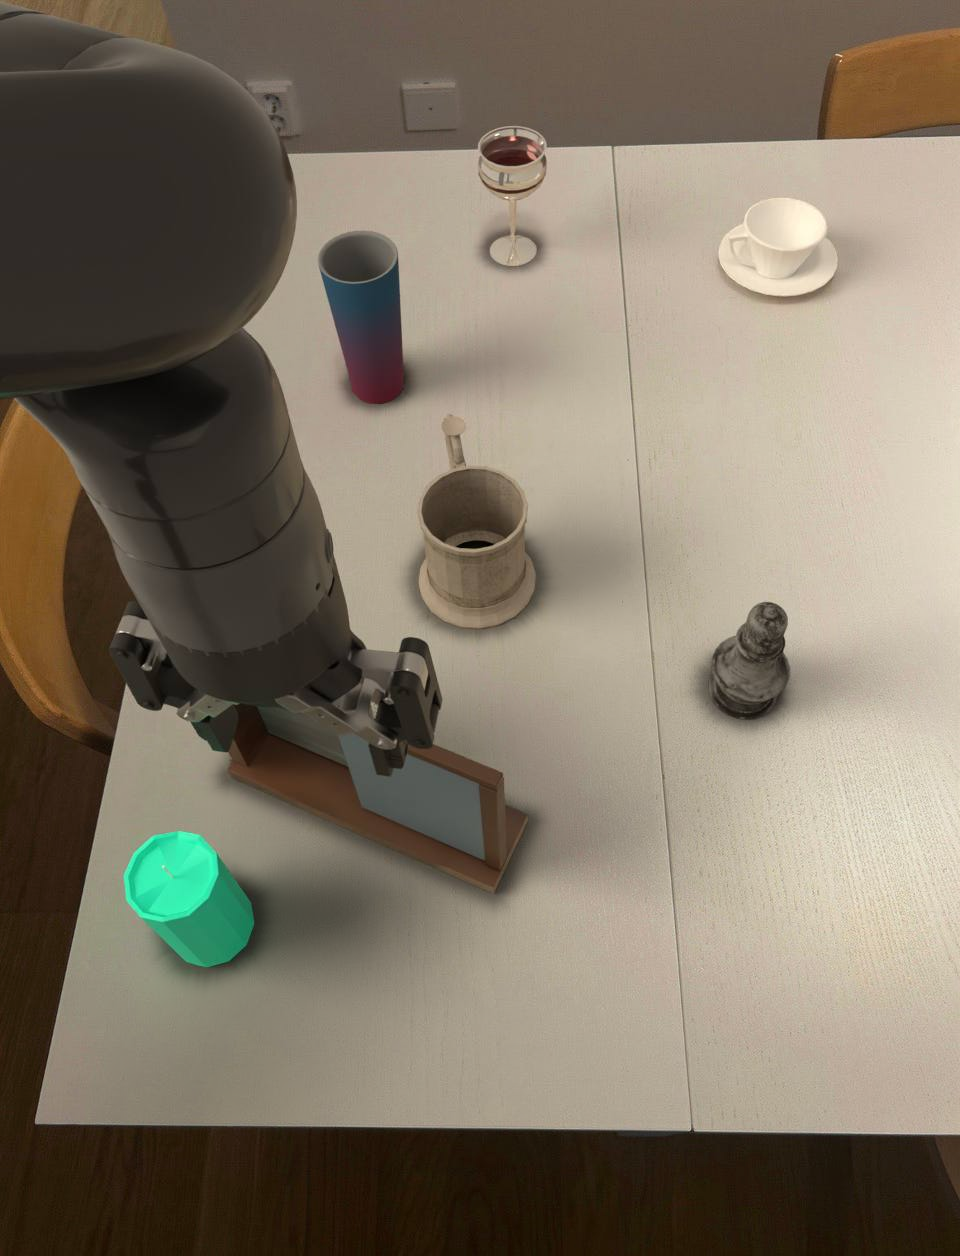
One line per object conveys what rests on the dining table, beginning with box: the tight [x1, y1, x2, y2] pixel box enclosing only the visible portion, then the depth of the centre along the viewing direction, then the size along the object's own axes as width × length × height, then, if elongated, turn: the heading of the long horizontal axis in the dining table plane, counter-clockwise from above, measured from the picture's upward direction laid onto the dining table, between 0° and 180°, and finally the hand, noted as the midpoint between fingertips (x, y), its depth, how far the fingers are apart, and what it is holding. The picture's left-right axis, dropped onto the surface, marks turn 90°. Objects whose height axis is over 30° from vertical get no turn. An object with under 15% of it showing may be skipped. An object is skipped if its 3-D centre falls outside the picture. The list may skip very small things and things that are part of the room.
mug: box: [416, 413, 537, 630], centre depth 86 cm, size 14×10×12 cm
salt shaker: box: [708, 601, 791, 720], centre depth 78 cm, size 6×6×12 cm
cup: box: [317, 230, 405, 405], centre depth 96 cm, size 7×7×15 cm
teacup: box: [717, 197, 839, 297], centre depth 107 cm, size 12×12×5 cm
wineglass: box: [477, 125, 548, 267], centre depth 107 cm, size 7×7×12 cm
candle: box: [123, 830, 255, 968], centre depth 70 cm, size 6×6×12 cm
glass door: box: [338, 706, 507, 870], centre depth 70 cm, size 1×11×14 cm, turn 65°
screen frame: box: [226, 696, 528, 895], centre depth 72 cm, size 6×22×18 cm, turn 65°
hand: (307, 747), depth 54 cm, fingers open, 8 cm apart
